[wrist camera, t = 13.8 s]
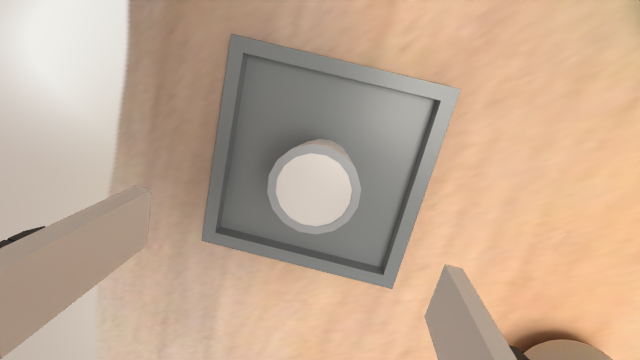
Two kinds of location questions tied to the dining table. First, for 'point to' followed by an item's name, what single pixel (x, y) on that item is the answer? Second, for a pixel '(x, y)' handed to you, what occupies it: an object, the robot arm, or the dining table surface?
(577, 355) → the teacup
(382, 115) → the tray
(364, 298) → the dining table surface
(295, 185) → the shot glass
